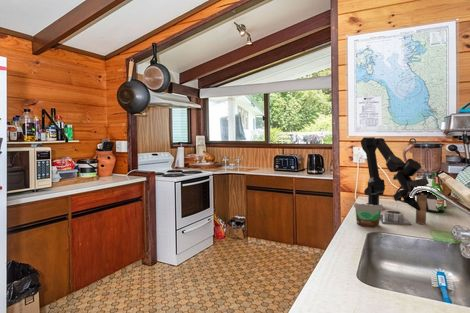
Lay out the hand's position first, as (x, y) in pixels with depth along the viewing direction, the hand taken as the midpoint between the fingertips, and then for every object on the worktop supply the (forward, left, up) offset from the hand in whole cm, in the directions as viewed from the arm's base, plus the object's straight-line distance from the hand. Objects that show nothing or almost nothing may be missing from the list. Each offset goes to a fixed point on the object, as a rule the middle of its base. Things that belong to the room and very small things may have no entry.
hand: (423, 209), depth 140 cm
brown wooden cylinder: (-1, -1, -7) cm, 7 cm away
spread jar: (-28, +12, -7) cm, 32 cm away
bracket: (-3, -12, -7) cm, 14 cm away
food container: (+8, -25, -7) cm, 27 cm away
